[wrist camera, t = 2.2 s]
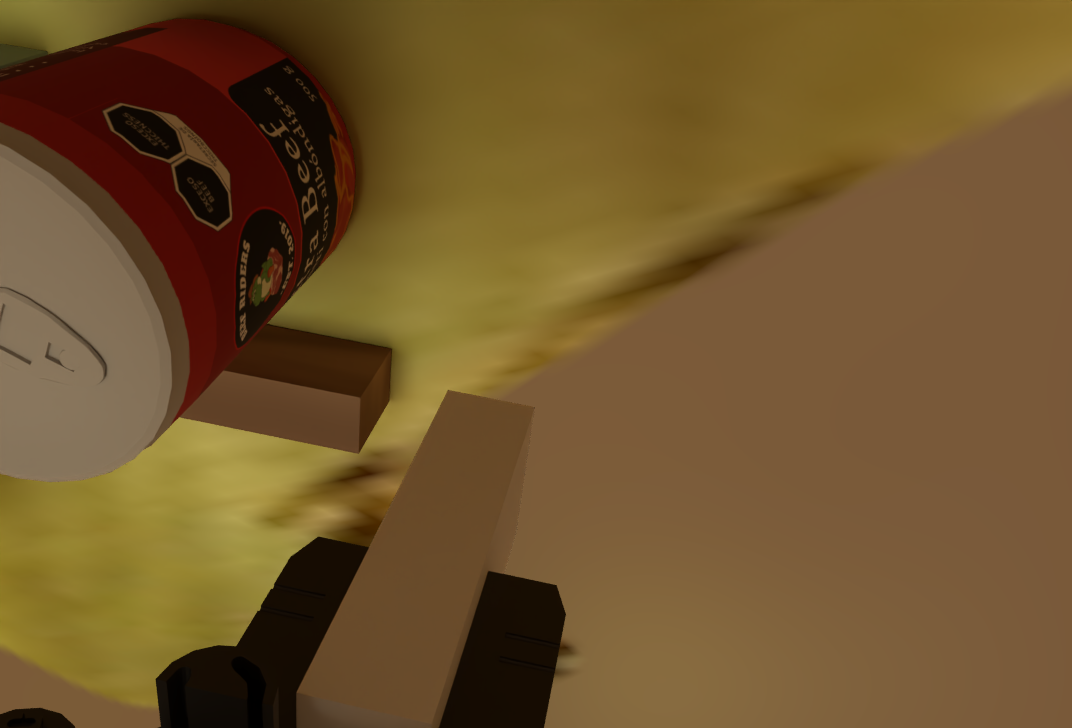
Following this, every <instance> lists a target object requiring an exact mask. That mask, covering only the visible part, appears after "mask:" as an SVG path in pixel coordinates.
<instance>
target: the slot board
mask: <svg viewBox="0 0 1072 728" xmlns="http://www.w3.org/2000/svg"><path fill="white" fill-rule="evenodd" d="M391 351H392V349H389V348H384V347H379V346H374V345H369V344H364V343H358V342H353V341H348V340H343V339H338V338H333V337H327V336H322V335H317V334H312V333H307V332H302V331H297V330H291V329H286V328H281V327H276V326H271V325H265V326H264V327H263V328H262V329H261V330H260V331H259V333H258V334H257V335H256V336H255V337H254V338H253V339H252V340H251V341H250V342H249V343H248V344H247V346H246V347H245V348H244V349H243V350H242V351H241V352H240V353H239V354H238V355H237V356H236V357H235V359H234V360H233V361H232V362H231V363H230V364H229V365H228V366H227V367H226V368H225V369H224V370H223V372H222V373H221V374H220V375H219V376H218V377H217V378H216V379H215V380H214V381H213V382H212V383H211V385H210V386H209V387H208V388H207V389H206V390H205V391H204V392H203V393H202V394H201V395H200V396H199V398H198V399H197V400H196V401H195V402H194V403H193V404H192V405H191V406H190V407H189V408H188V409H187V410H186V411H185V412H184V413H183V414H182V415H181V416H180V417H181V418H186V419H191V420H196V421H201V422H206V423H210V424H215V425H220V426H225V427H230V428H235V429H240V430H245V431H250V432H255V433H259V434H264V435H269V436H274V437H279V438H284V439H289V440H294V441H299V442H304V443H309V444H313V445H318V446H323V447H328V448H333V449H338V450H343V451H348V452H353V453H358V454H359V452H360V450H361V449H362V447H363V445H364V444H365V442H366V440H367V438H368V437H369V435H370V433H371V432H372V430H373V428H374V426H375V425H376V423H377V421H378V420H379V418H380V416H381V414H382V413H383V411H384V409H385V408H386V406H387V404H388V402H389V391H390V371H391Z"/></svg>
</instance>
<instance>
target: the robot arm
mask: <svg viewBox="0 0 1072 728" xmlns="http://www.w3.org/2000/svg"><path fill="white" fill-rule="evenodd" d="M534 409H535V407H531V406H526V405H521V404H516V403H511V402H506V401H501V400H496V399H491V398H486V397H481V396H476V395H471V394H466V393H460V392H455V391H450V390H448V391H447V393H446V395H445V397H444V399H443V401H442V403H441V405H440V407H439V409H438V411H437V413H436V415H435V417H434V419H433V421H432V423H431V425H430V427H429V429H428V431H427V433H426V435H425V437H424V439H423V441H422V443H421V445H420V447H419V449H418V451H417V453H416V455H415V457H414V459H413V461H412V463H411V465H410V467H409V469H408V471H407V473H406V475H405V477H404V479H403V481H402V483H401V485H400V487H399V489H398V491H397V493H396V495H395V497H394V499H393V501H392V503H391V505H390V507H389V509H388V511H387V513H386V515H385V517H384V519H383V521H382V523H381V525H380V527H379V529H378V531H377V533H376V535H375V537H374V539H373V541H372V543H371V545H370V547H365V546H360V545H355V544H351V543H346V542H341V541H337V540H332V539H327V538H323V537H317V538H316V539H314V540H313V541H312V542H310V543H309V544H308V545H306V546H305V547H304V548H302V549H301V550H299V551H298V552H297V553H295V554H294V555H293V556H291V557H290V559H289V560H288V562H287V564H286V565H285V567H284V569H283V570H282V572H281V574H280V575H279V577H278V578H277V580H276V582H275V583H274V588H273V589H271V590H270V592H269V593H268V595H267V597H266V598H265V600H264V601H263V603H262V605H261V609H260V611H257V613H256V615H255V616H254V618H253V620H252V621H251V623H250V624H249V626H248V628H247V629H246V631H245V633H244V634H243V636H242V638H241V639H240V641H239V643H238V644H237V646H221V645H217V646H213V647H208V648H204V649H199V650H195V651H192V652H190V653H189V654H187V655H185V656H183V657H181V658H179V659H177V660H175V661H174V662H172V663H171V664H170V665H169V666H168V667H167V668H166V669H165V670H164V671H163V672H162V673H161V674H160V675H159V676H158V677H157V678H156V687H157V695H158V704H159V713H160V722H161V727H159V728H544V724H545V719H546V714H547V709H548V704H549V699H550V693H551V688H552V683H553V678H554V673H555V668H556V663H557V657H558V652H559V647H560V642H561V637H562V632H563V626H564V621H565V616H566V613H565V610H564V607H563V604H562V601H561V598H560V595H559V591H558V588H557V585H553V584H548V583H543V582H539V581H534V580H529V579H525V578H520V577H515V576H511V575H506V574H504V573H505V569H506V566H507V562H508V559H509V555H510V552H511V549H512V545H513V542H514V538H515V535H516V530H517V524H518V516H519V510H520V503H521V496H522V489H523V483H524V476H525V469H526V463H527V456H528V449H529V443H530V436H531V429H532V422H533V415H534ZM0 728H75V726H74V725H73V724H72V723H71V722H70V721H68V720H67V719H66V718H65V717H64V716H63V715H62V714H60V713H57V712H53V711H50V710H46V709H43V708H30V709H15V710H12V711H9V712H6V713H3V714H0Z"/></svg>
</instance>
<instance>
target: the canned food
mask: <svg viewBox="0 0 1072 728" xmlns="http://www.w3.org/2000/svg"><path fill="white" fill-rule="evenodd" d="M355 178H356V170H355V163H354V155H353V148H352V145H351V142H350V139H349V136H348V133H347V130H346V127H345V124H344V122H343V120H342V118H341V116H340V114H339V112H338V110H337V108H336V107H335V105H334V103H333V101H332V99H331V98H330V97H329V95H328V94H327V93H326V91H325V90H324V89H323V87H322V86H321V85H320V83H319V82H318V81H317V79H316V78H315V77H314V76H313V75H312V74H311V73H310V72H309V71H308V70H307V69H306V68H305V67H304V66H303V65H301V64H300V63H299V62H298V61H297V60H296V59H295V58H294V57H293V56H291V55H290V54H288V53H287V52H285V51H284V50H282V49H281V48H279V47H278V46H276V45H275V44H273V43H272V42H271V41H268V40H266V39H264V38H262V37H260V36H257V35H255V34H253V33H251V32H248V31H246V30H243V29H240V28H236V27H233V26H229V25H225V24H221V23H217V22H213V21H208V20H203V19H172V20H167V21H162V22H157V23H151V24H148V25H145V26H142V27H138V28H135V29H132V30H128V31H125V32H122V33H118V34H115V35H112V36H108V37H105V38H102V39H98V40H95V41H92V42H88V43H85V44H82V45H79V46H75V47H72V48H69V49H65V50H62V51H59V52H55V53H52V54H49V55H45V56H42V57H39V58H35V59H32V60H29V61H25V62H22V63H19V64H15V65H12V66H9V67H6V68H2V69H0V473H1V474H4V475H8V476H12V477H15V478H21V479H29V480H38V481H47V482H59V481H75V480H84V479H88V478H92V477H95V476H99V475H102V474H106V473H110V472H112V471H113V470H115V469H117V468H119V467H120V466H122V465H124V464H126V463H128V462H129V461H131V460H133V459H134V458H135V457H136V456H137V455H138V454H139V453H140V452H141V451H142V450H144V449H146V448H148V447H149V446H151V445H152V444H153V443H154V442H155V441H156V440H157V439H158V438H159V437H160V436H161V435H162V434H163V433H164V432H165V431H166V430H167V429H168V428H169V427H170V426H171V425H172V424H173V423H174V422H175V421H176V420H177V419H178V418H179V417H180V416H181V415H182V414H183V413H184V412H185V411H186V410H187V409H188V408H189V407H190V406H191V405H192V404H193V403H194V402H195V401H196V400H197V399H198V398H199V396H200V395H201V394H202V393H203V392H204V391H205V390H206V389H207V388H208V387H209V386H210V385H211V383H212V382H213V381H214V380H215V379H216V378H217V377H218V376H219V375H220V374H221V373H222V372H223V370H224V369H225V368H226V367H227V366H228V365H229V364H230V363H231V362H232V361H233V360H234V359H235V357H236V356H237V355H238V354H239V353H240V352H241V351H242V350H243V349H244V348H245V347H246V346H247V344H248V343H249V342H250V341H251V340H252V339H253V338H254V337H255V336H256V335H257V334H258V333H259V331H260V330H261V329H262V328H263V327H264V326H265V325H266V324H267V323H268V322H269V321H270V320H271V318H272V317H273V316H274V315H275V314H276V313H277V312H278V311H279V310H280V309H281V308H282V307H283V305H284V304H285V303H286V302H287V301H288V300H289V299H290V298H291V297H292V296H293V295H294V294H295V292H296V291H297V290H298V289H299V288H300V287H301V286H302V285H303V284H304V283H305V282H306V281H307V279H308V278H309V277H310V276H311V275H312V274H313V273H314V272H315V271H316V270H317V269H318V268H319V266H320V265H321V264H322V263H323V262H324V261H325V260H326V259H327V258H328V257H329V256H330V255H331V253H332V252H333V251H334V250H335V249H336V247H337V245H338V243H339V242H340V240H341V238H342V237H343V235H344V233H345V231H346V229H347V226H348V222H349V219H350V216H351V212H352V209H353V202H354V192H355Z"/></svg>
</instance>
